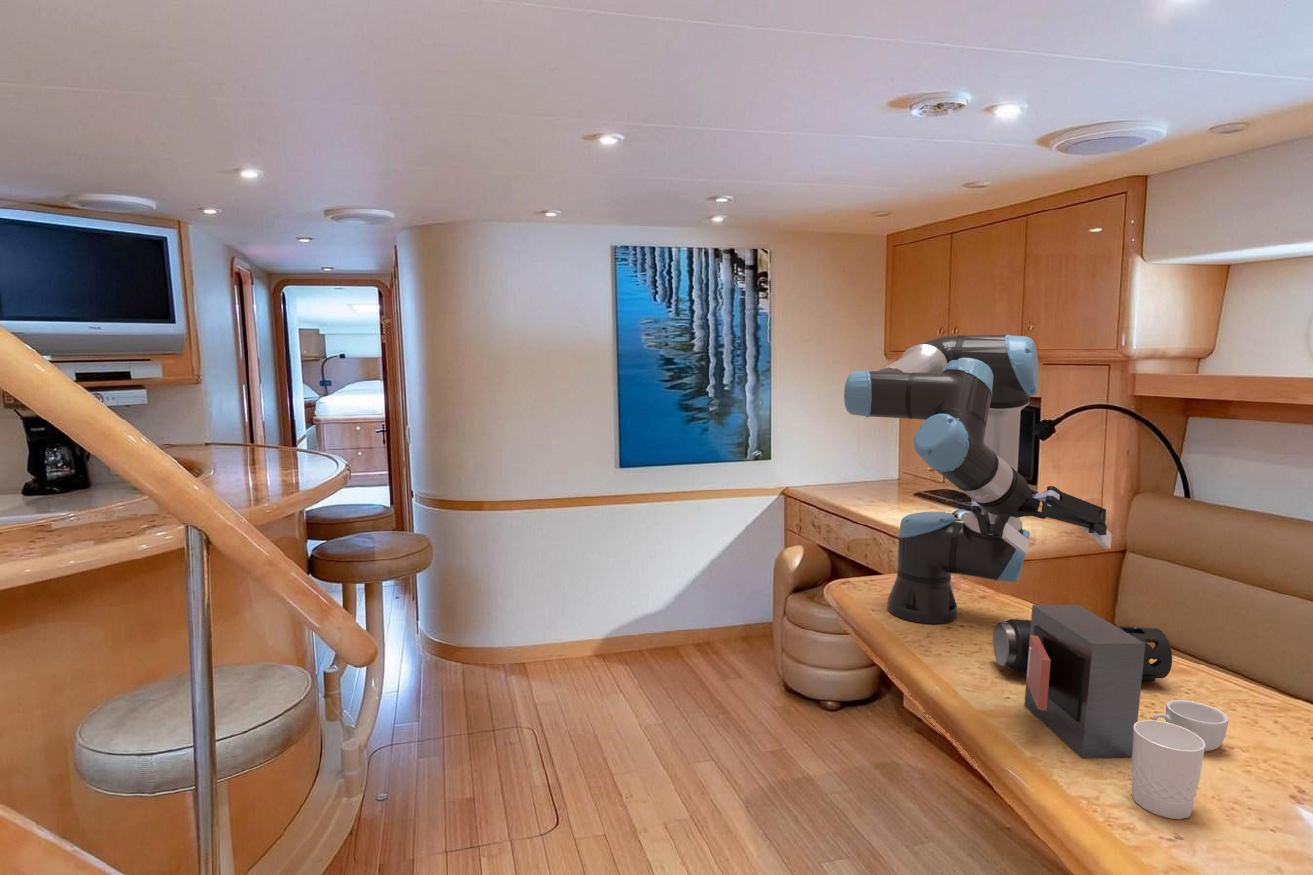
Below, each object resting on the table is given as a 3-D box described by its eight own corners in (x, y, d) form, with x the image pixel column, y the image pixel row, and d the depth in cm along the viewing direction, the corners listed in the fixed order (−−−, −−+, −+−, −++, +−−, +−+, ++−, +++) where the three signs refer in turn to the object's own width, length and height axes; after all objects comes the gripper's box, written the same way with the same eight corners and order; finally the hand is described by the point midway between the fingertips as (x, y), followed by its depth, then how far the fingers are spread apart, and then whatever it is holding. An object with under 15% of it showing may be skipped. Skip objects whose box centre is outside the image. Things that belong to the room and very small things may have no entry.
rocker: (1024, 680, 121) (1028, 634, 120) (1034, 682, 121) (1038, 635, 120) (1036, 709, 112) (1040, 659, 111) (1046, 710, 112) (1050, 660, 110)
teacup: (1206, 733, 117) (1209, 701, 116) (1236, 759, 110) (1240, 726, 109) (1138, 727, 119) (1141, 696, 118) (1163, 753, 111) (1167, 720, 110)
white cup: (1113, 787, 102) (1119, 720, 101) (1165, 785, 103) (1173, 718, 102) (1156, 824, 94) (1163, 752, 93) (1212, 821, 95) (1221, 749, 94)
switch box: (1022, 705, 125) (1030, 605, 123) (1069, 705, 126) (1078, 604, 123) (1080, 758, 109) (1090, 643, 107) (1133, 757, 110) (1145, 643, 107)
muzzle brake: (1170, 693, 131) (1176, 638, 129) (1006, 683, 134) (1010, 629, 132) (1141, 670, 140) (1146, 618, 139) (989, 661, 143) (993, 610, 142)
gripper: (919, 513, 121) (993, 568, 130) (1071, 494, 101) (1146, 560, 110) (927, 474, 125) (998, 531, 133) (1076, 448, 104) (1148, 516, 113)
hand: (1065, 544), depth 122 cm, fingers open, 13 cm apart
